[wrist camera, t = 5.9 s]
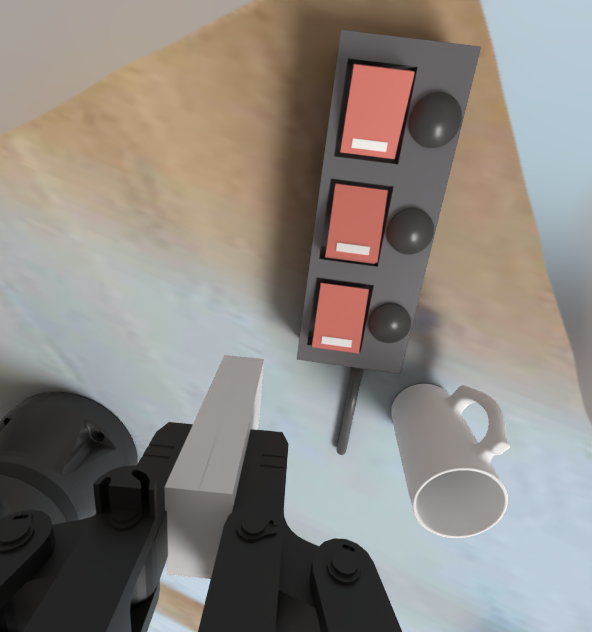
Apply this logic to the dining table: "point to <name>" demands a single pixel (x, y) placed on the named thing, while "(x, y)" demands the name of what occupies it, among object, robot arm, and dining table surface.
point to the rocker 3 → (339, 317)
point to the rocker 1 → (375, 110)
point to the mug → (450, 459)
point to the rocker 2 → (356, 223)
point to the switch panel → (389, 198)
